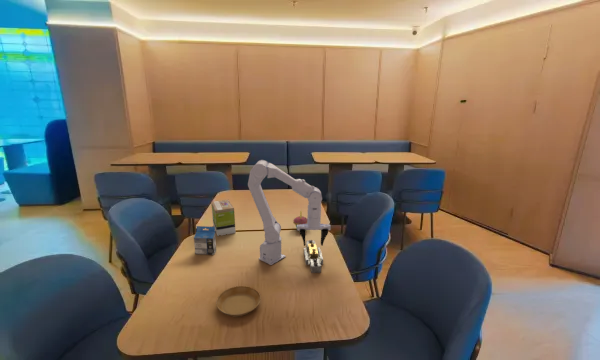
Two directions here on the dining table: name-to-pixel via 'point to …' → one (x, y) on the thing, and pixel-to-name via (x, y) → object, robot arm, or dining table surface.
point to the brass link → (312, 251)
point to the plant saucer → (238, 300)
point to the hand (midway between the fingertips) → (313, 244)
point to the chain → (314, 263)
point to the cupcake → (300, 220)
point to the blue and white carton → (205, 240)
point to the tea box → (223, 217)
